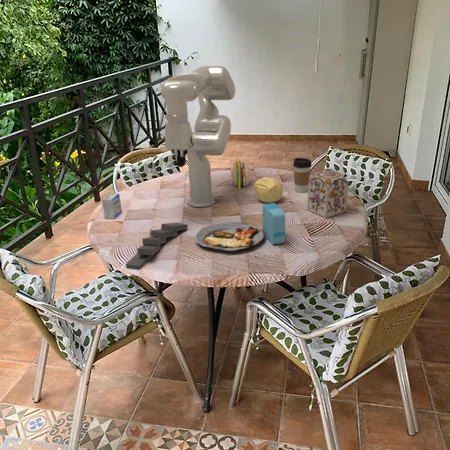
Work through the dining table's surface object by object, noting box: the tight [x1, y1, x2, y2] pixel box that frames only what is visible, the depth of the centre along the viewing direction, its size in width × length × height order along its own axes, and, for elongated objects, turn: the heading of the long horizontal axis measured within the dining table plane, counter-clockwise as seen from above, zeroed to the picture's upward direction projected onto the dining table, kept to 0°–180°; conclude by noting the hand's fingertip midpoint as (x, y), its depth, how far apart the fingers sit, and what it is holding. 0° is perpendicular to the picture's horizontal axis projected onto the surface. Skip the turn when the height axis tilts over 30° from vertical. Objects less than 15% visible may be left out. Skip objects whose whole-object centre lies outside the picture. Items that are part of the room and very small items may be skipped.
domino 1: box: [142, 236, 167, 246], centre depth 161 cm, size 2×5×10 cm
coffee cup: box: [292, 157, 312, 194], centre depth 209 cm, size 8×8×15 cm
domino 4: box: [149, 228, 179, 239], centre depth 167 cm, size 2×5×10 cm
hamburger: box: [232, 158, 251, 190], centre depth 220 cm, size 12×8×12 cm
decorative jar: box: [307, 168, 349, 219], centre depth 185 cm, size 12×12×18 cm
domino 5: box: [160, 222, 188, 232], centre depth 172 cm, size 2×5×10 cm
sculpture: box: [253, 176, 284, 204], centre depth 200 cm, size 11×12×11 cm
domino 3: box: [125, 253, 154, 271], centre depth 152 cm, size 2×5×10 cm
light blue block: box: [262, 202, 286, 245], centre depth 163 cm, size 12×4×12 cm, turn 14°
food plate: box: [195, 221, 266, 252], centre depth 165 cm, size 25×23×4 cm
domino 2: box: [136, 244, 161, 256], centre depth 155 cm, size 2×5×10 cm
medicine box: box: [101, 192, 123, 220], centre depth 190 cm, size 8×4×9 cm, turn 168°
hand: (181, 165), depth 175 cm, fingers closed
